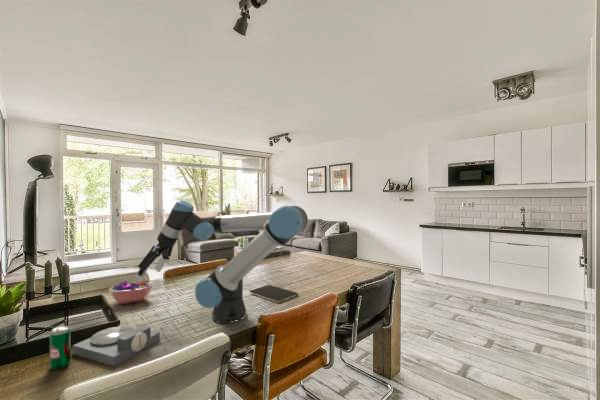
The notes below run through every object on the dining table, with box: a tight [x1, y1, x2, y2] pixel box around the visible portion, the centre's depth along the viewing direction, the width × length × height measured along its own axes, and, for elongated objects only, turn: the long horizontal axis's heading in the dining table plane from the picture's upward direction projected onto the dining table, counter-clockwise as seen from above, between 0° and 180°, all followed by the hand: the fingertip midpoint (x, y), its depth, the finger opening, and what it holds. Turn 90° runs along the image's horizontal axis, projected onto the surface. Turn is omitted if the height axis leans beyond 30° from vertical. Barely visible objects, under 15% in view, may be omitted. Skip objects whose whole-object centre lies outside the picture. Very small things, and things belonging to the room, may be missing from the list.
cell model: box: [108, 280, 153, 305], centre depth 146 cm, size 17×20×11 cm
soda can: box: [49, 325, 72, 371], centre depth 90 cm, size 5×5×12 cm
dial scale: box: [72, 323, 161, 367], centre depth 102 cm, size 21×18×7 cm
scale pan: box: [90, 325, 133, 346], centre depth 103 cm, size 13×13×1 cm
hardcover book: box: [249, 284, 299, 303], centre depth 159 cm, size 16×23×2 cm
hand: (147, 275), depth 123 cm, fingers open, 13 cm apart
